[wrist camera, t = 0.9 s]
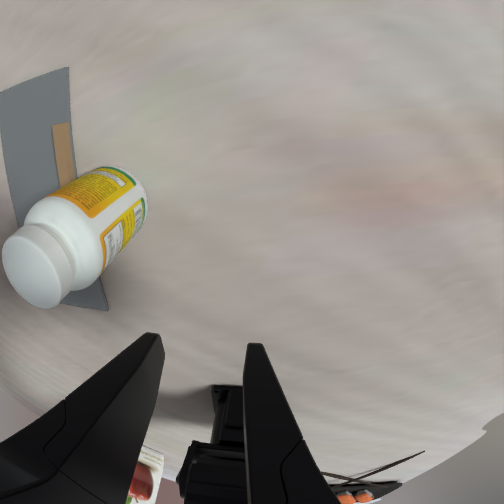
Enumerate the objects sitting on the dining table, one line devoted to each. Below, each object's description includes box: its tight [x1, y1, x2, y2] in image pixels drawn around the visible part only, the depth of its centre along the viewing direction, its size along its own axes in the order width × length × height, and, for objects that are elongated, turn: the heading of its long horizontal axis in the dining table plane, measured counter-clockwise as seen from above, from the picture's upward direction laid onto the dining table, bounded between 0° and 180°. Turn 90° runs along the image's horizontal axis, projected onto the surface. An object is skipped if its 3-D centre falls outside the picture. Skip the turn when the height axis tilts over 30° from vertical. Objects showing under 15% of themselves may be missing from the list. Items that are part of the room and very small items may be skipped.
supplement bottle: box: [2, 166, 148, 309], centre depth 15 cm, size 5×5×10 cm
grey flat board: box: [0, 67, 109, 311], centre depth 19 cm, size 20×8×1 cm, turn 179°
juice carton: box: [125, 445, 164, 504], centre depth 33 cm, size 8×9×19 cm
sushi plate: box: [321, 451, 425, 504], centre depth 43 cm, size 29×30×4 cm
